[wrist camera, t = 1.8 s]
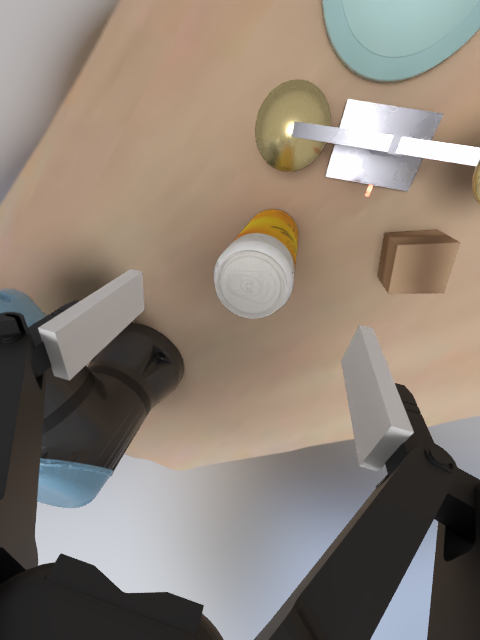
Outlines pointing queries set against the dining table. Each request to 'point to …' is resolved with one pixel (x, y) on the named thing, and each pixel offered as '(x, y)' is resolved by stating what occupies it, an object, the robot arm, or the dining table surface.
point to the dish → (398, 34)
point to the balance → (354, 138)
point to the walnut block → (416, 261)
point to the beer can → (258, 266)
